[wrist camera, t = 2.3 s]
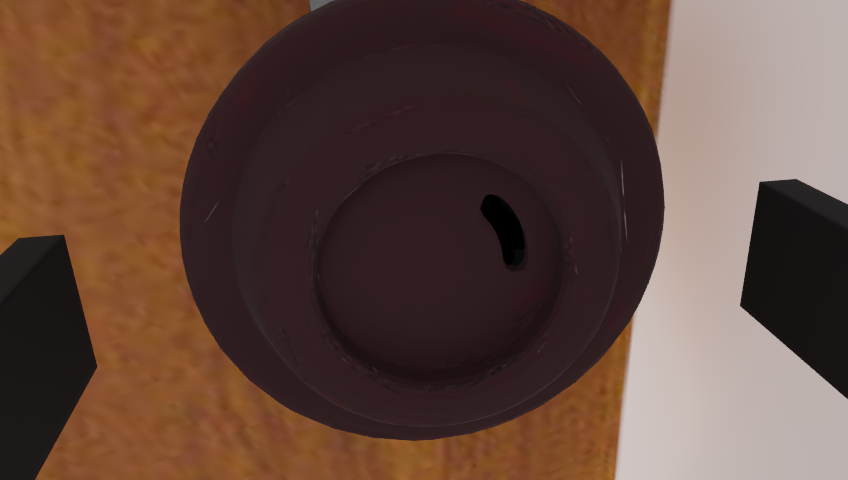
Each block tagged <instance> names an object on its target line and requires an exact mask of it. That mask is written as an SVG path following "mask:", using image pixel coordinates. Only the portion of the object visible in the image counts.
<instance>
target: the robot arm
mask: <svg viewBox="0 0 848 480" xmlns="http://www.w3.org/2000/svg"><path fill="white" fill-rule="evenodd" d="M740 306H741V307H742V308H743V309H744V310H746V311H747V312H748V313H749V314H750V315H751V316H752V317H754V318H755V319H756V320H757V321H758V322H759V323H761V324H762V325H763V326H764V327H765V328H766V329H768V330H769V331H770V332H771V333H772V334H773V335H775V336H776V337H777V338H778V339H779V340H780V341H781V342H783V343H784V344H785V345H786V346H787V347H788V348H789V349H790V350H792V351H793V352H794V353H795V354H796V355H797V356H799V357H800V358H801V359H802V360H803V361H804V362H805V363H807V364H808V365H809V366H810V367H811V368H812V369H814V370H815V371H816V372H817V373H818V374H819V375H820V376H822V377H823V378H824V379H825V380H826V381H827V382H829V383H830V384H831V385H832V386H833V387H834V388H836V389H837V390H838V391H839V392H840V393H841V394H842V395H844V396H845V397H846V398H847V399H848V204H846V203H843V202H842V201H840V200H837V199H835V198H833V197H831V196H829V195H827V194H825V193H823V192H821V191H819V190H817V189H815V188H813V187H811V186H809V185H807V184H805V183H803V182H801V181H799V180H797V179H792V180H779V181H766V182H760V183H759V191H758V196H757V203H756V209H755V215H754V221H753V227H752V234H751V241H750V246H749V253H748V259H747V265H746V272H745V278H744V285H743V291H742V297H741V303H740ZM96 368H97V364H96V360H95V356H94V352H93V348H92V344H91V340H90V336H89V332H88V328H87V324H86V320H85V316H84V312H83V308H82V304H81V300H80V296H79V292H78V289H77V285H76V281H75V277H74V273H73V269H72V265H71V261H70V257H69V253H68V249H67V245H66V241H65V237H64V235H55V236H42V237H29V238H18V239H17V240H16V241H15V242H14V243H13V244H12V245H11V246H10V247H9V248H8V249H7V250H6V251H4V252H3V253H2V254H1V255H0V480H35V479H36V477H37V475H38V473H39V471H40V469H41V468H42V466H43V464H44V462H45V460H46V459H47V457H48V455H49V453H50V451H51V450H52V448H53V446H54V444H55V442H56V441H57V439H58V437H59V435H60V433H61V432H62V430H63V428H64V426H65V424H66V422H67V421H68V419H69V417H70V415H71V413H72V412H73V410H74V408H75V406H76V404H77V403H78V401H79V399H80V397H81V395H82V394H83V392H84V390H85V388H86V386H87V384H88V383H89V381H90V379H91V377H92V375H93V374H94V372H95V370H96Z"/></svg>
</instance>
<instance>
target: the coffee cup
mask: <svg viewBox="0 0 848 480" xmlns="http://www.w3.org/2000/svg"><path fill="white" fill-rule="evenodd" d="M664 208H665V207H664V189H663V181H662V172H661V163H660V159H659V155H658V150H657V146H656V142H655V139H654V135H653V132H652V129H651V127H650V124H649V122H648V120H647V117H646V115H645V112H644V110H643V108H642V107H641V105H640V103H639V101H638V100H637V98H636V96H635V94H634V93H633V91H632V90H631V88H630V87H629V86H628V84H627V83H626V81H625V80H624V78H623V77H622V76H621V74H620V73H619V71H618V70H617V69H616V67H615V66H614V65H613V64H612V63H611V62H610V61H609V60H608V59H607V58H606V57H605V55H604V54H603V53H602V52H601V51H600V50H599V49H597V48H596V47H595V46H594V45H593V44H592V43H591V42H590V41H589V40H587V39H586V38H585V37H584V36H582V35H581V34H580V33H578V32H577V31H576V30H574V29H573V28H572V27H570V26H569V25H567V24H566V23H564V22H562V21H561V20H559V19H557V18H556V17H554V16H552V15H550V14H548V13H546V12H544V11H542V10H540V9H538V8H536V7H534V6H532V5H530V4H528V3H525V2H522V1H519V0H334V1H331V2H329V3H327V4H325V5H323V6H321V7H319V8H317V9H315V10H313V11H311V12H309V13H307V14H306V15H304V16H302V17H300V18H299V19H297V20H296V21H294V22H293V23H291V24H290V25H288V26H287V27H285V28H284V29H282V30H281V31H279V32H278V33H277V34H276V35H275V36H273V37H272V38H271V39H270V40H268V41H267V42H266V43H265V44H264V45H263V46H262V47H261V48H260V49H259V50H258V51H257V52H256V53H255V54H254V55H253V56H252V57H251V58H250V59H249V60H248V61H247V62H246V63H245V65H244V66H243V67H242V68H241V69H240V70H239V71H238V72H237V74H236V75H235V76H234V78H233V79H232V80H231V82H230V83H229V84H228V86H227V87H226V88H225V90H224V91H223V92H222V94H221V96H220V97H219V99H218V100H217V102H216V103H215V105H214V106H213V108H212V110H211V111H210V113H209V114H208V117H207V119H206V121H205V123H204V125H203V127H202V129H201V131H200V133H199V135H198V137H197V139H196V142H195V145H194V148H193V150H192V153H191V156H190V159H189V162H188V166H187V170H186V174H185V178H184V183H183V189H182V197H181V205H180V240H181V249H182V258H183V262H184V267H185V272H186V276H187V280H188V283H189V286H190V289H191V292H192V295H193V298H194V300H195V303H196V305H197V307H198V309H199V311H200V313H201V316H202V318H203V320H204V322H205V324H206V326H207V327H208V329H209V330H210V332H211V334H212V335H213V337H214V338H215V340H216V342H217V343H218V345H219V346H220V348H221V349H222V350H223V352H224V353H225V354H226V355H227V356H228V357H229V358H230V360H231V361H232V362H233V363H234V364H235V365H236V366H237V367H238V368H239V369H240V371H241V372H242V373H243V374H244V375H245V376H246V377H247V378H248V379H249V380H250V381H251V382H252V383H254V384H255V385H256V386H258V387H259V388H260V389H262V390H263V391H264V392H266V393H267V394H268V395H270V396H271V397H273V398H274V399H275V400H277V401H278V402H279V403H281V404H282V405H284V406H285V407H287V408H289V409H290V410H292V411H294V412H296V413H298V414H300V415H303V416H305V417H307V418H310V419H312V420H314V421H317V422H319V423H322V424H324V425H327V426H329V427H331V428H334V429H338V430H342V431H346V432H351V433H355V434H359V435H364V436H368V437H372V438H384V439H398V440H412V441H417V440H433V439H440V438H446V437H452V436H459V435H465V434H470V433H474V432H477V431H481V430H484V429H488V428H491V427H494V426H497V425H500V424H502V423H505V422H508V421H510V420H513V419H515V418H517V417H519V416H521V415H523V414H525V413H527V412H529V411H531V410H533V409H536V408H538V407H540V406H542V405H543V404H544V403H546V402H547V401H549V400H550V399H552V398H553V397H555V396H556V395H557V394H559V393H560V392H562V391H563V390H565V389H566V388H568V387H569V386H571V385H572V384H573V383H575V382H576V381H577V380H578V379H579V378H580V377H582V376H583V375H584V374H585V373H586V372H587V371H588V370H589V369H590V368H591V367H592V366H594V365H595V364H596V363H597V362H598V361H599V360H600V359H601V357H602V356H603V355H604V354H605V353H606V352H607V350H608V349H609V348H610V347H611V345H612V344H613V343H614V342H615V340H616V339H617V338H618V336H619V335H620V334H621V332H622V331H623V330H624V328H625V327H626V326H627V324H628V323H629V322H630V320H631V318H632V316H633V314H634V312H635V311H636V309H637V307H638V305H639V303H640V301H641V299H642V297H643V295H644V292H645V290H646V288H647V285H648V283H649V280H650V277H651V274H652V272H653V269H654V266H655V262H656V259H657V256H658V252H659V247H660V242H661V235H662V231H663V221H664Z"/></svg>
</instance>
